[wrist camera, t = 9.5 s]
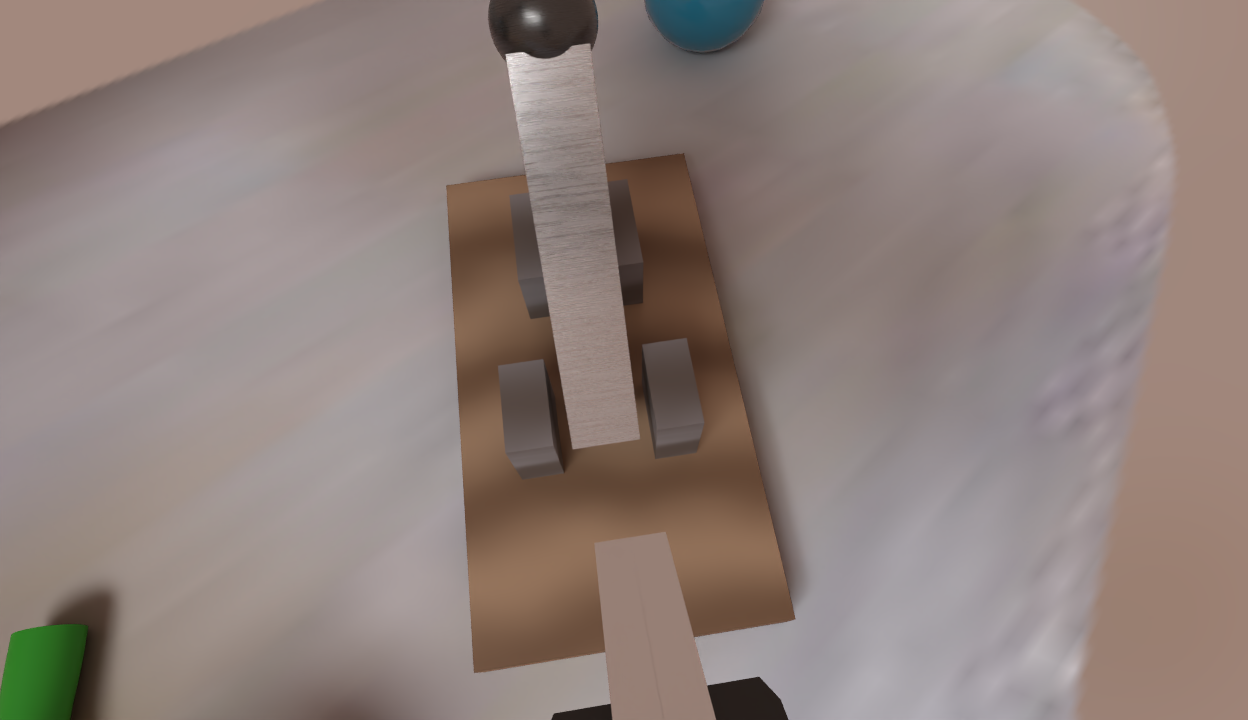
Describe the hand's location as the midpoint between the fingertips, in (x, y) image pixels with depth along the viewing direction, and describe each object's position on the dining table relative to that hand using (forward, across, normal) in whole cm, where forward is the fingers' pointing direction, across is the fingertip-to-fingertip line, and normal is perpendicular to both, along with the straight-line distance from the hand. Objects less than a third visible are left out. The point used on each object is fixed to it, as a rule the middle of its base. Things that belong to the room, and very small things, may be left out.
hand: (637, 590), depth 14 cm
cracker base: (+22, 0, -5) cm, 22 cm away
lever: (+17, 0, -4) cm, 17 cm away
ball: (+39, +10, +12) cm, 43 cm away
